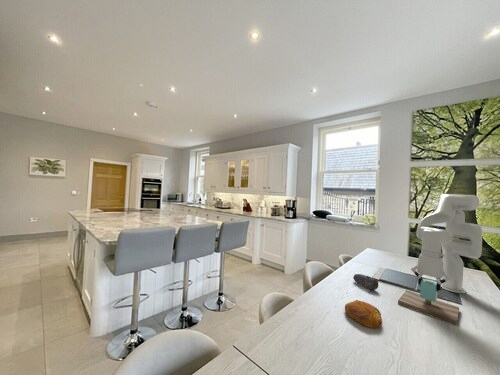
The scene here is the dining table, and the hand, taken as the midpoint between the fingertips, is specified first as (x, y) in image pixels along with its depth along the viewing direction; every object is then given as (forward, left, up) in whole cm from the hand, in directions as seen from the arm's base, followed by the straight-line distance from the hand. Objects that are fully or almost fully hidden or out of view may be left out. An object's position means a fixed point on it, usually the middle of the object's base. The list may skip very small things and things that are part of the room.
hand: (428, 288), depth 109 cm
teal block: (0, 0, -5) cm, 5 cm away
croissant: (+38, -18, -10) cm, 43 cm away
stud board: (0, 0, -10) cm, 10 cm away
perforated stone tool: (+2, -30, -10) cm, 32 cm away
